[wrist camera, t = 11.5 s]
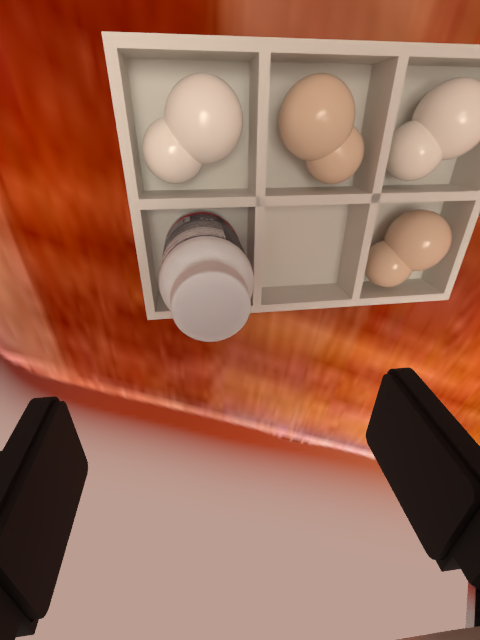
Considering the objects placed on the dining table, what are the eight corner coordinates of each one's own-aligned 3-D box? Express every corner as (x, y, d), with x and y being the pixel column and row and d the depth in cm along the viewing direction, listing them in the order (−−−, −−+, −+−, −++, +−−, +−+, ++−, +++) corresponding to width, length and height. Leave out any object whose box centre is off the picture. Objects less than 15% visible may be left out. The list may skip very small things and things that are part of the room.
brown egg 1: (256, 113, 21) (273, 113, 17) (313, 58, 20) (344, 45, 16) (310, 194, 24) (334, 208, 20) (362, 149, 23) (397, 156, 19)
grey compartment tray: (488, 57, 22) (538, 46, 19) (421, 281, 30) (448, 299, 27) (114, 46, 19) (101, 31, 16) (151, 297, 27) (147, 320, 24)
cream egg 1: (204, 57, 19) (208, 43, 15) (252, 125, 21) (265, 127, 18) (128, 139, 21) (115, 144, 17) (179, 195, 23) (177, 210, 19)
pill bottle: (243, 271, 26) (270, 342, 18) (176, 286, 26) (171, 364, 18) (231, 201, 23) (256, 245, 15) (155, 217, 23) (139, 270, 15)
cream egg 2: (443, 62, 21) (497, 51, 17) (470, 120, 23) (525, 121, 19) (360, 144, 23) (393, 149, 19) (392, 191, 25) (428, 205, 21)
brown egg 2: (407, 190, 25) (446, 203, 21) (437, 227, 27) (478, 245, 23) (343, 256, 27) (367, 278, 23) (375, 285, 29) (403, 311, 25)
